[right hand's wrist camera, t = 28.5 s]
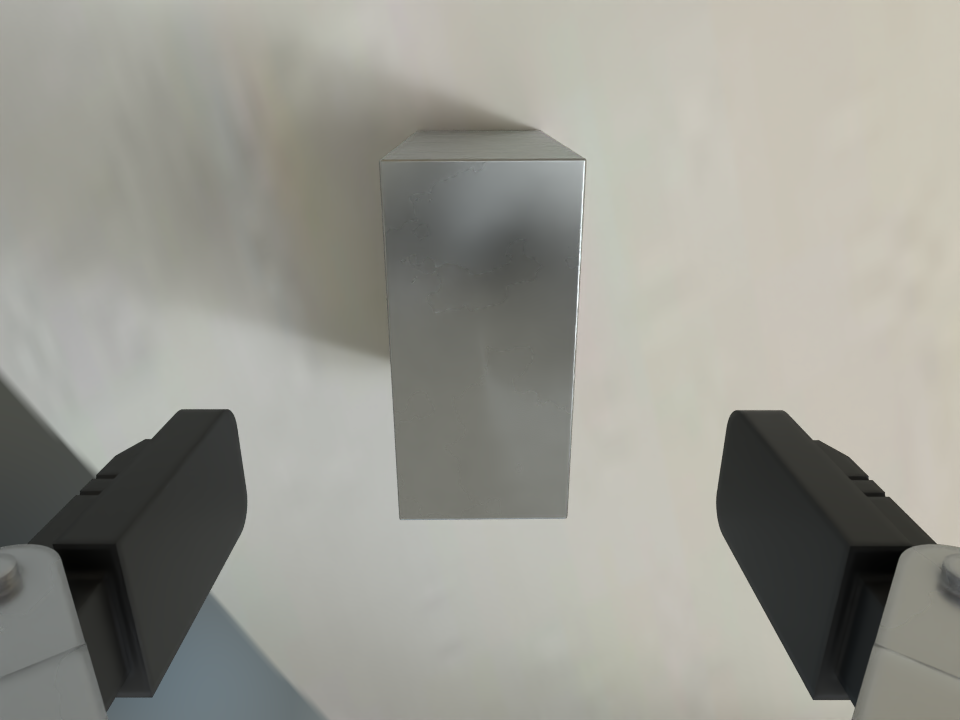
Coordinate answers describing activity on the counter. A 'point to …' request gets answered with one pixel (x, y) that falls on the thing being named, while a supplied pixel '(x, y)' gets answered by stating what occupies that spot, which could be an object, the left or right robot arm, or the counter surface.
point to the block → (482, 320)
